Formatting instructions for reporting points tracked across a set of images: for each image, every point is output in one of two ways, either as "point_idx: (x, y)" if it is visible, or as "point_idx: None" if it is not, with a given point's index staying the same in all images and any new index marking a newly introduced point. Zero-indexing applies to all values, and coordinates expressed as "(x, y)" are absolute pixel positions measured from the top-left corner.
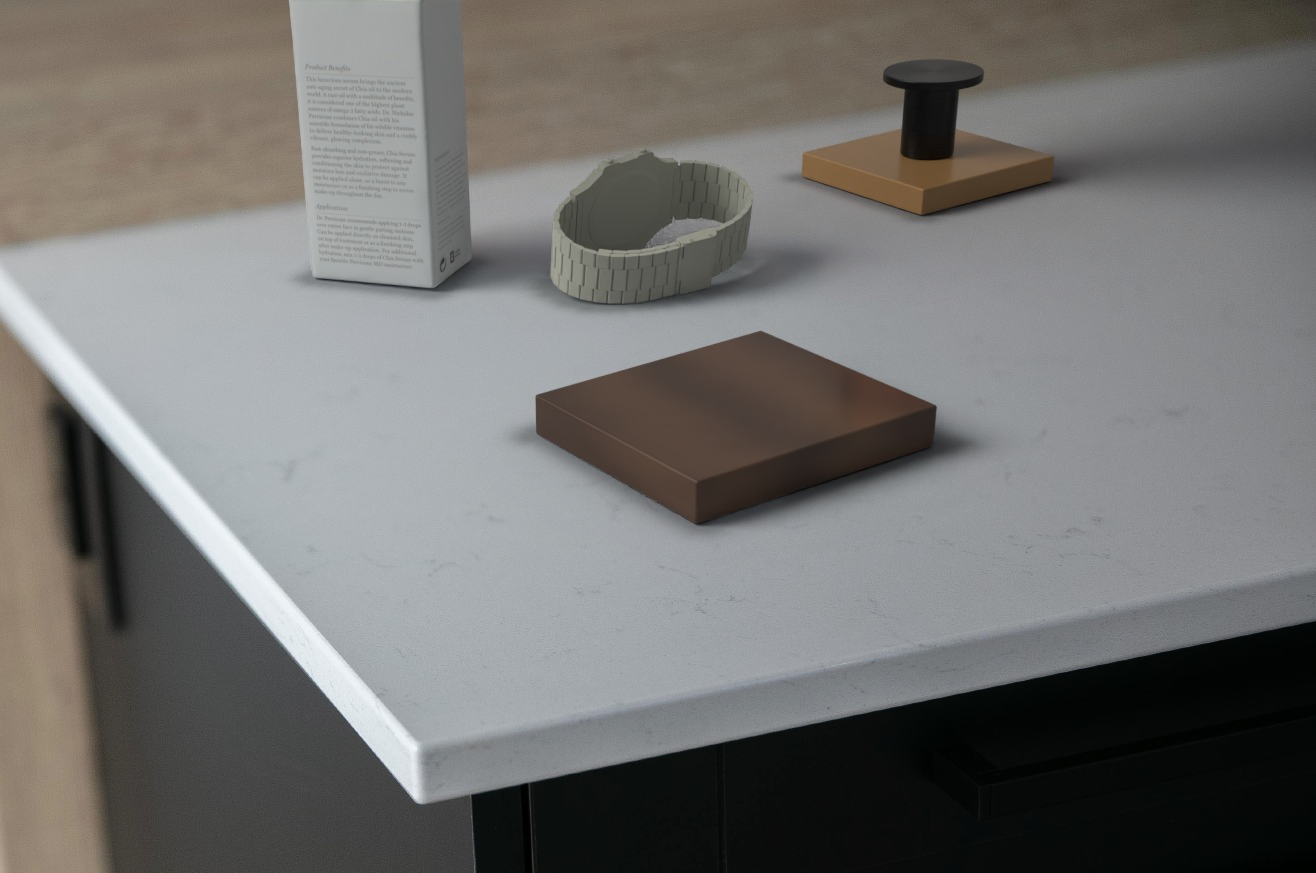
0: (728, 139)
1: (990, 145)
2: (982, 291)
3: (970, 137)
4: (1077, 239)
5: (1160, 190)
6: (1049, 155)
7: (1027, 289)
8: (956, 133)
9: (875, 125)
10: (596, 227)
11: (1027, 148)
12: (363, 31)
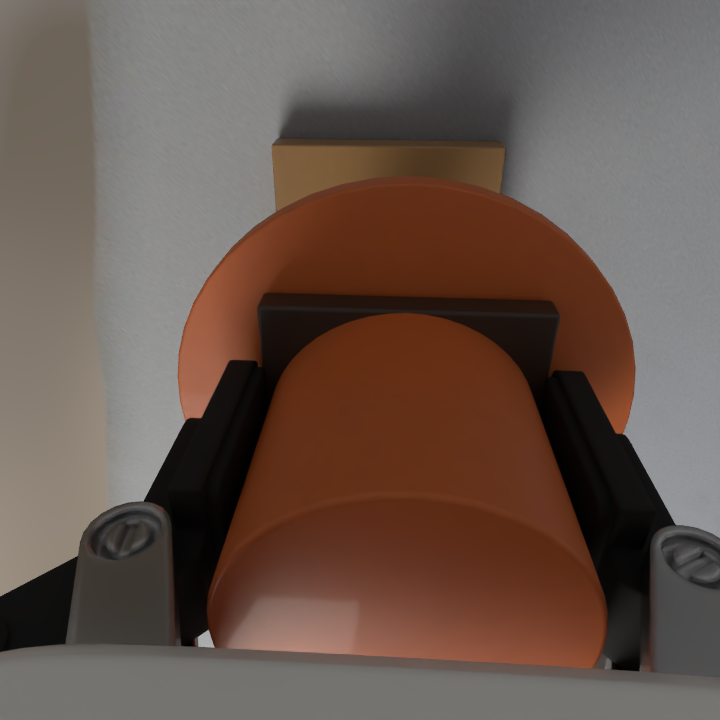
0: (109, 293)
1: (413, 173)
2: (648, 434)
3: (369, 164)
4: (644, 281)
5: (629, 60)
6: (501, 153)
7: (678, 408)
8: (343, 164)
9: (147, 111)
10: None
11: (458, 148)
12: None
